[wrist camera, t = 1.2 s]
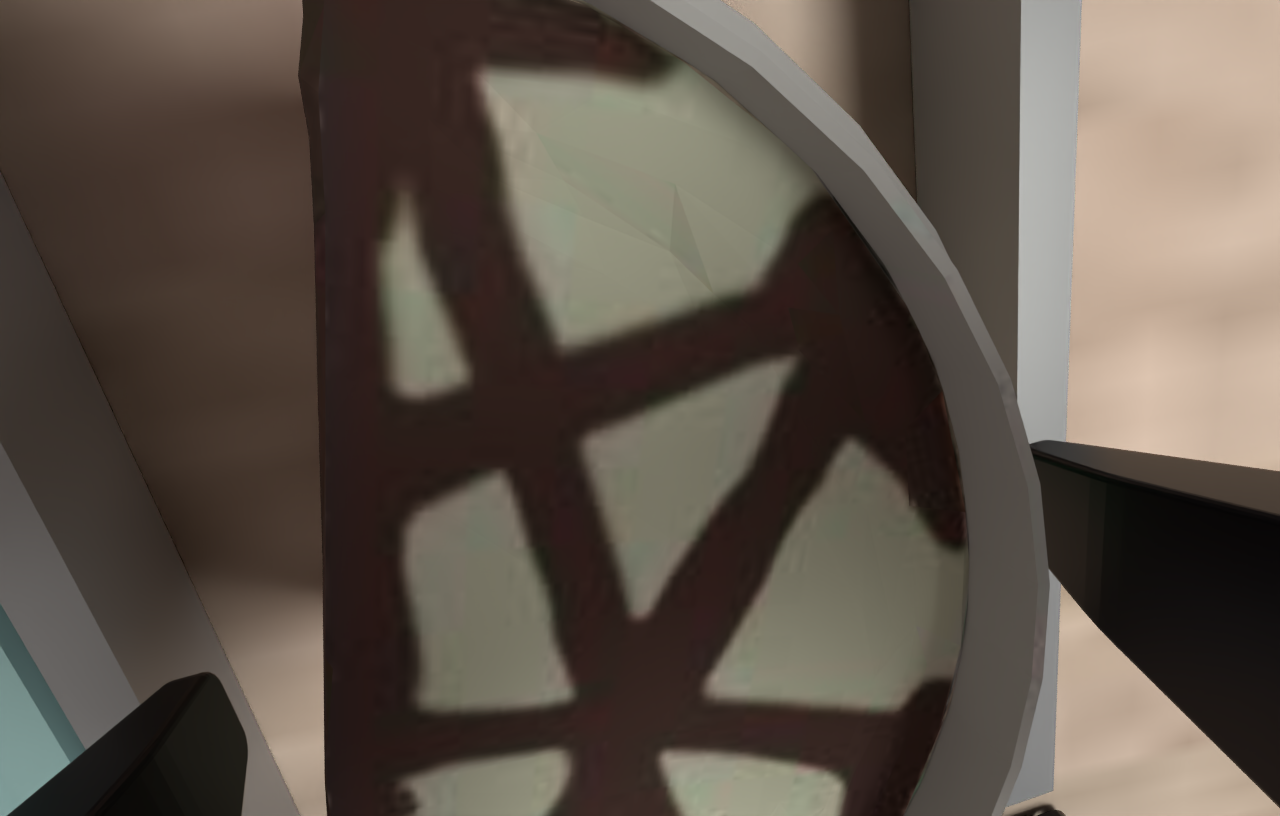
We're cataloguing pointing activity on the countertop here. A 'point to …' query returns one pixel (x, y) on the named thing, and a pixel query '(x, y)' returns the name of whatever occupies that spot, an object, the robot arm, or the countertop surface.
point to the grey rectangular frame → (149, 562)
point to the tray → (28, 724)
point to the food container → (648, 433)
